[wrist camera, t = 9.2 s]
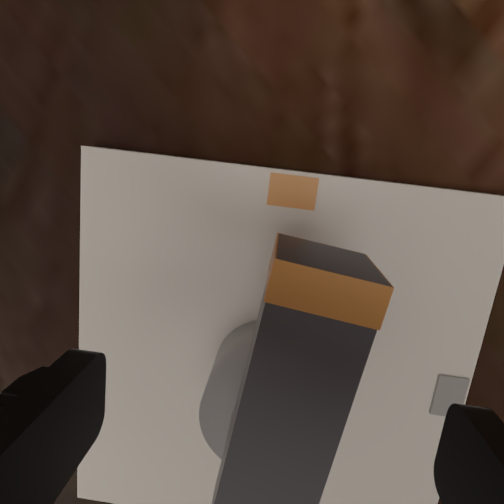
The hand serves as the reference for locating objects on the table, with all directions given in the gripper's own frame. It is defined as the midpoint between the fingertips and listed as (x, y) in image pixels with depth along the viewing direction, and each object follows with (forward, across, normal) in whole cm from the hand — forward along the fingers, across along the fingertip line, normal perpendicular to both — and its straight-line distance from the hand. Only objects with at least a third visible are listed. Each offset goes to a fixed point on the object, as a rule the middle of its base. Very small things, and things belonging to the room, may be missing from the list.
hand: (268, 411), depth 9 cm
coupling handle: (+7, -1, +2) cm, 8 cm away
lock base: (+14, 0, +6) cm, 15 cm away
